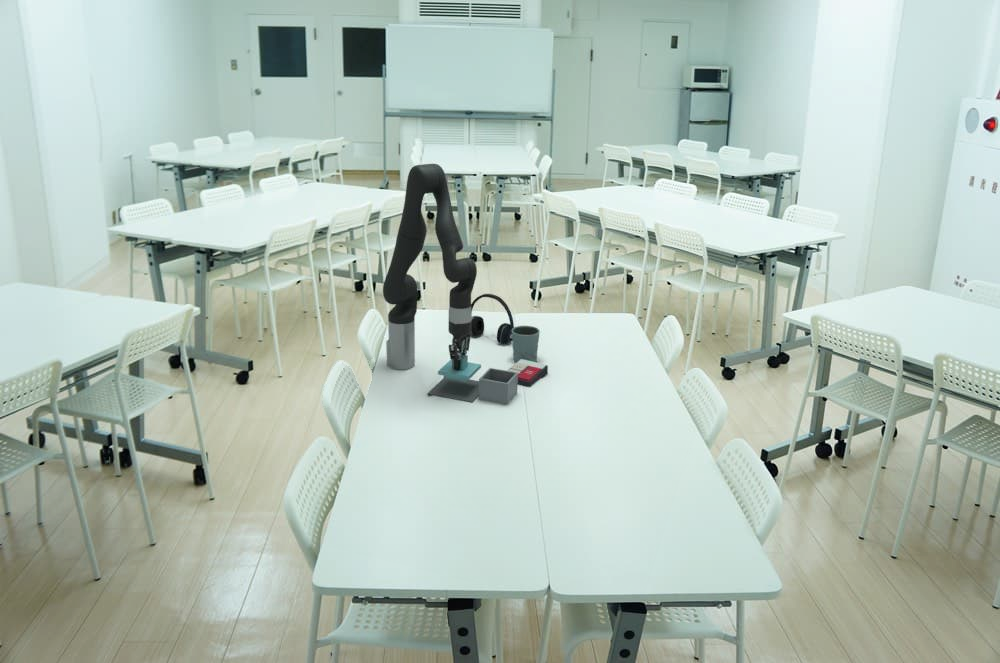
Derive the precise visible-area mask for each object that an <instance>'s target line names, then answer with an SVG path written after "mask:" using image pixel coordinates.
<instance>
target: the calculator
mask: <svg viewBox="0 0 1000 663" xmlns="http://www.w3.org/2000/svg"><path fill="white" fill-rule="evenodd" d="M548 368H549V366H548V365H547V364H546V363H541V362H537V361H536V362H532V361H528V360H523V359H520V360H519V361H518V362H517V363H515V362H514V364H513V365H511V367H509V368H508V369H507V370H506V371H512V372H517V373H518V386H519V385H520V386H523V387H528V388H531V387H532V386H534V384H536V382H538V381H539V380H540V379H544V377H546V376H547V375H548Z"/></svg>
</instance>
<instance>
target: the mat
mask: <svg viewBox="0 0 1000 663" xmlns="http://www.w3.org/2000/svg"><path fill="white" fill-rule="evenodd" d="M426 395H428V396H427V397H430V396H432V397H433V396H434V397H438V398H445V399H451V400H454V401H460V402H465V403H466V402H467V403H470V404H471V403H474V402H475V401H476V400H477V399H478V398H479V380H474V379H471V378H470V379H469V380H468V381H467V382H465V381H460V380H454V379H448V378H444V377H443V378H442V379H441V380H440V381H439V382H438V383H437V384H435V386H434V387H432V388H431V389H429V391H428V392H427V394H426Z"/></svg>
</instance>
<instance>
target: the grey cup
mask: <svg viewBox="0 0 1000 663" xmlns="http://www.w3.org/2000/svg"><path fill="white" fill-rule="evenodd" d="M540 333H541V331H540V329H539V328H538V327H537V326H533V325H517V326H514V328H513V329H512V342H511V343H512V359H513V362H514V364H515V363H517V362H518V361H519V360H520V359H523V360H528V361H532V362H537V361H538V360H537V359H538V348H539V339H540Z"/></svg>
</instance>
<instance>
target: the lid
mask: <svg viewBox="0 0 1000 663" xmlns="http://www.w3.org/2000/svg"><path fill="white" fill-rule="evenodd" d="M468 356H469V355H468V354H465V355H462V354H461V359H460V360H461V366H460V370H454V360H452V359H450V360H448V361H447V362H446V363H445V364H444V365H443V366H442V367H441V368H440V369H439V370H437V375H439V376H443V378H448V379H454V380H460V381H465V382H467V381H468V380H469V379H470V380H471V378H472V377H473V376H474V375H475V374H476V373H477V372H478V371H479V370H480V369H481V368H482V364H481V363H476V362H468V361H469V359H468V358H469V357H468Z"/></svg>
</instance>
